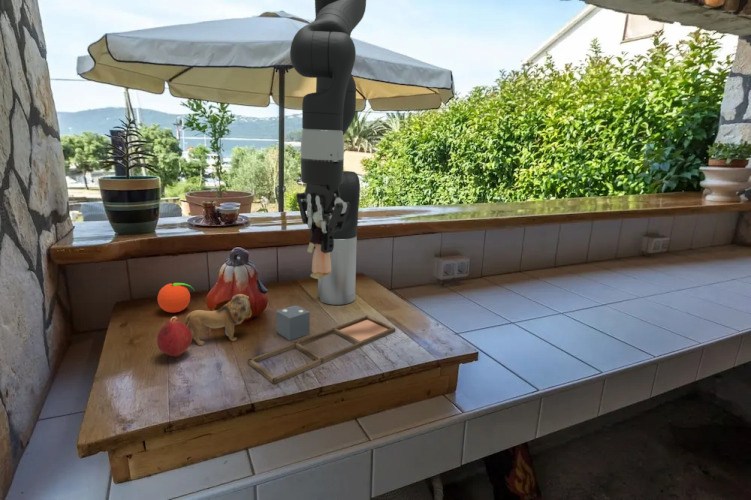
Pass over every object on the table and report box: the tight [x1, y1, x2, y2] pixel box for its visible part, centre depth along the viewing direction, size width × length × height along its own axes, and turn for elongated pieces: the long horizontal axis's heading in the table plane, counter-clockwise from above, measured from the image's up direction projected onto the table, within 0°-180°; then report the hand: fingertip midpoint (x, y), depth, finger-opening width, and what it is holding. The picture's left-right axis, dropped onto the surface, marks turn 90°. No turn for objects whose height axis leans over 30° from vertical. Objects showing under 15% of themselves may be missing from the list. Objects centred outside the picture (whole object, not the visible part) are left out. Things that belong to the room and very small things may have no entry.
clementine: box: [157, 282, 195, 314], centre depth 96 cm, size 8×7×7 cm
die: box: [275, 304, 311, 341], centre depth 88 cm, size 5×5×5 cm
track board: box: [247, 315, 396, 385], centre depth 83 cm, size 9×31×1 cm, turn 135°
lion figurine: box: [183, 293, 251, 347], centre depth 83 cm, size 15×5×9 cm, turn 119°
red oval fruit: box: [156, 315, 193, 358], centre depth 76 cm, size 6×6×8 cm
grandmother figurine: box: [306, 211, 331, 280], centre depth 77 cm, size 8×4×13 cm, turn 166°
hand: (321, 249), depth 77 cm, fingers closed on grandmother figurine, 3 cm apart
